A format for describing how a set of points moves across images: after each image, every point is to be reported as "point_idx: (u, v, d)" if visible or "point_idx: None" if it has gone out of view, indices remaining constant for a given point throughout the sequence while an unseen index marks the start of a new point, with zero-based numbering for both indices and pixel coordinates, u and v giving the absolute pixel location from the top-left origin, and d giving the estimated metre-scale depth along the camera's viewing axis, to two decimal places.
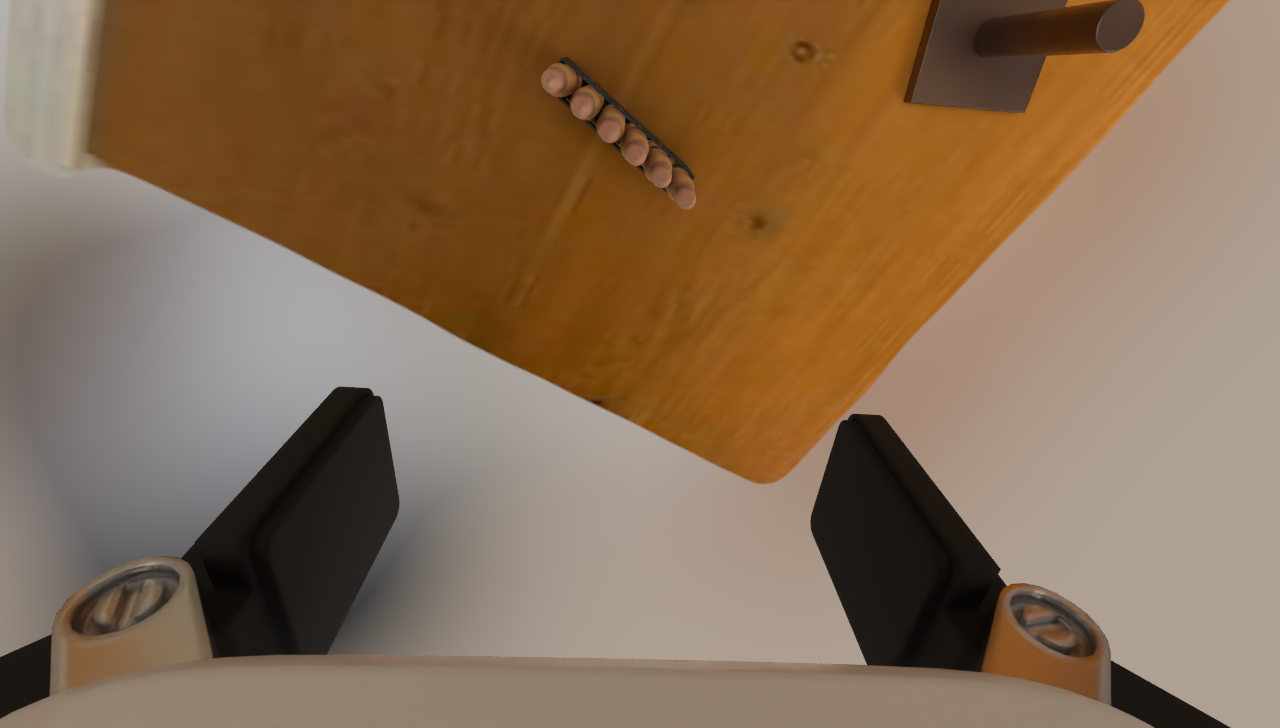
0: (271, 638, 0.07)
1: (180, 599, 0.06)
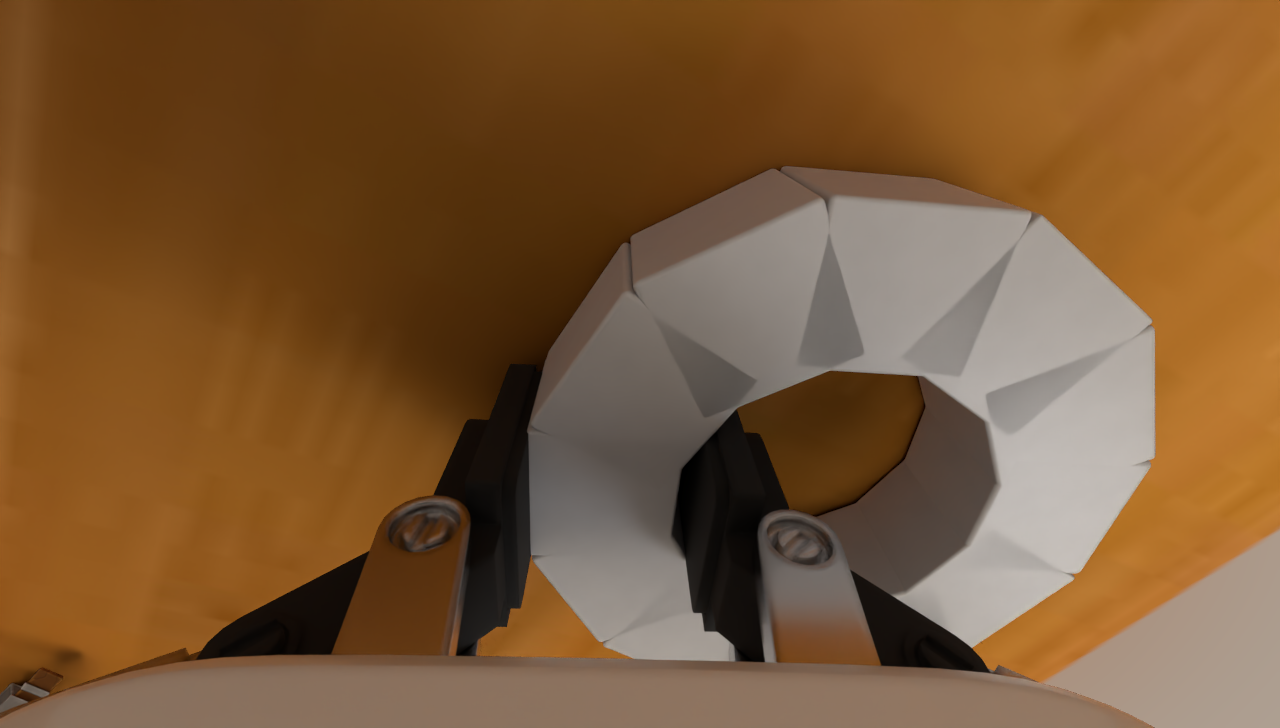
0: (503, 570, 0.09)
1: (467, 527, 0.07)
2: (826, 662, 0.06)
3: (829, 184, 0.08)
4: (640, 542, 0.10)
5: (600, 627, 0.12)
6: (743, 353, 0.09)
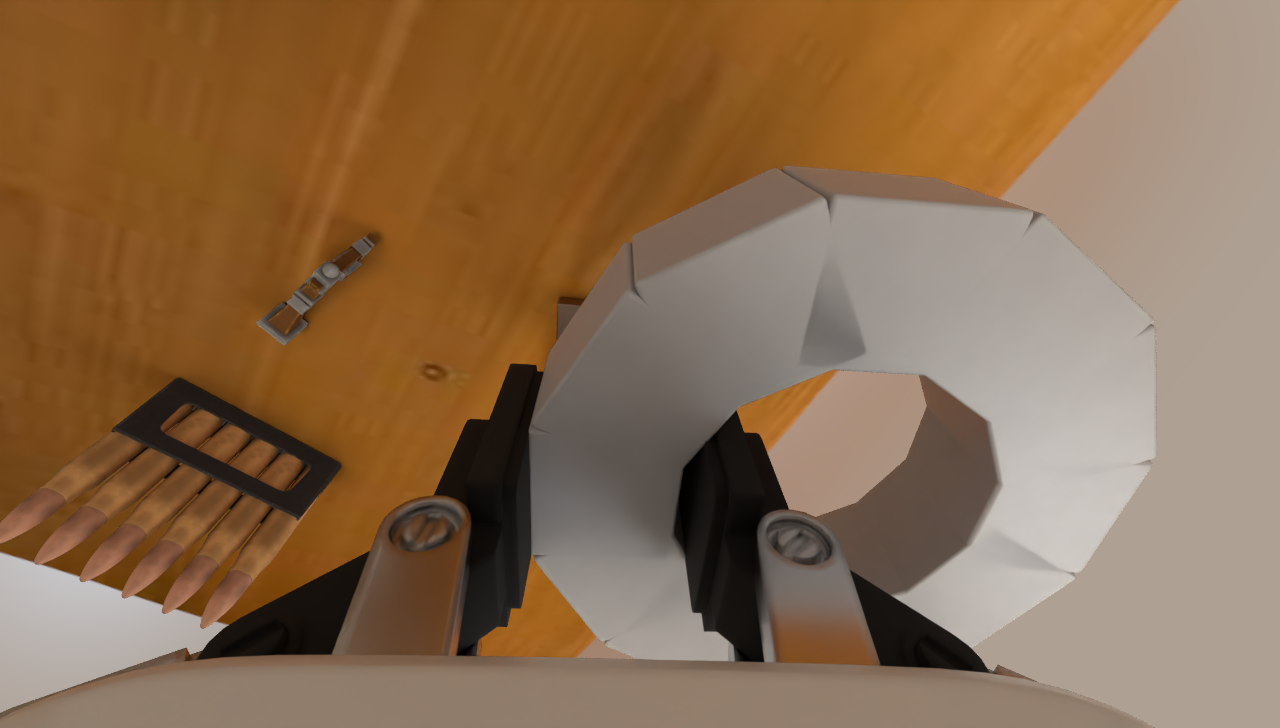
0: (504, 570, 0.09)
1: (468, 527, 0.07)
2: (826, 662, 0.06)
3: (831, 183, 0.08)
4: (642, 541, 0.11)
5: (602, 626, 0.12)
6: (745, 352, 0.09)
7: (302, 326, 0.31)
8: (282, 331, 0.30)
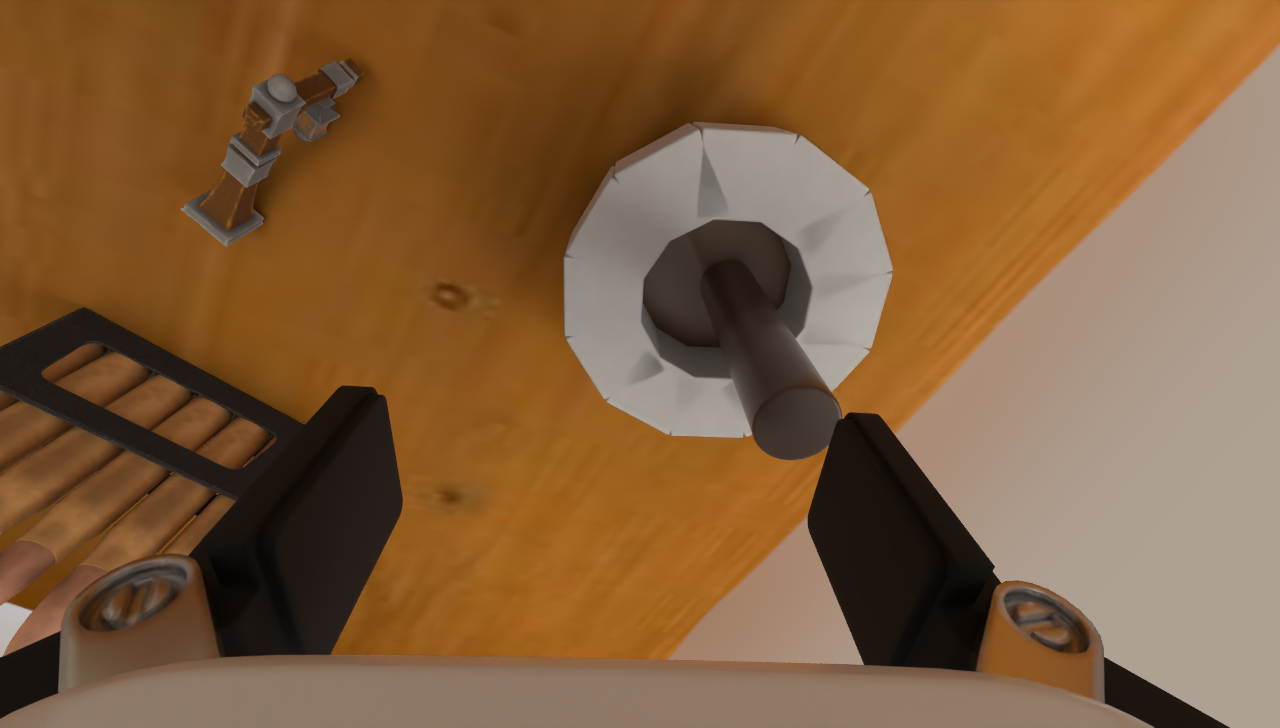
0: (278, 635, 0.07)
1: (188, 596, 0.06)
2: None
3: (707, 125, 0.17)
4: (624, 326, 0.20)
5: (604, 387, 0.21)
6: (669, 210, 0.18)
7: (255, 221, 0.21)
8: (222, 224, 0.20)
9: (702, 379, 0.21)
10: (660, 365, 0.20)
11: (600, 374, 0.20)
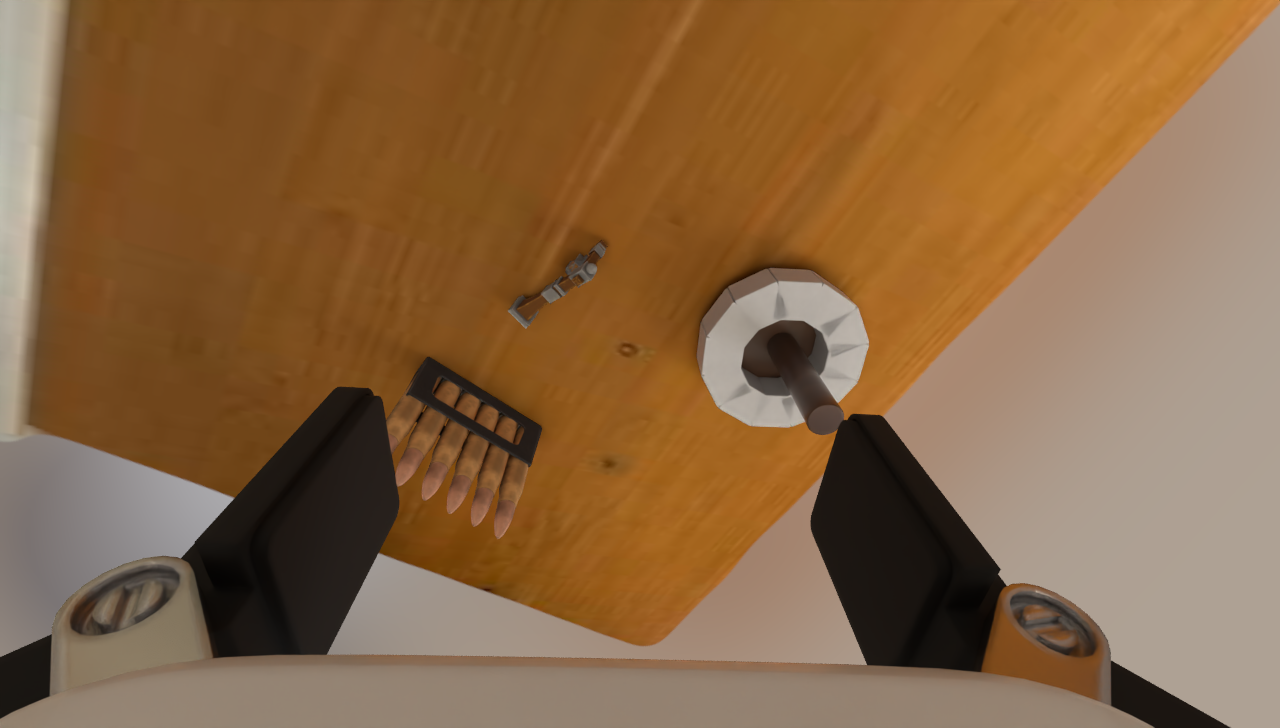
0: (272, 638, 0.07)
1: (180, 599, 0.06)
2: None
3: (779, 276, 0.36)
4: (732, 370, 0.38)
5: (718, 400, 0.40)
6: (760, 316, 0.36)
7: (535, 313, 0.39)
8: (526, 317, 0.38)
9: (770, 396, 0.40)
10: (749, 389, 0.39)
11: (717, 394, 0.39)
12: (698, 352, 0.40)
